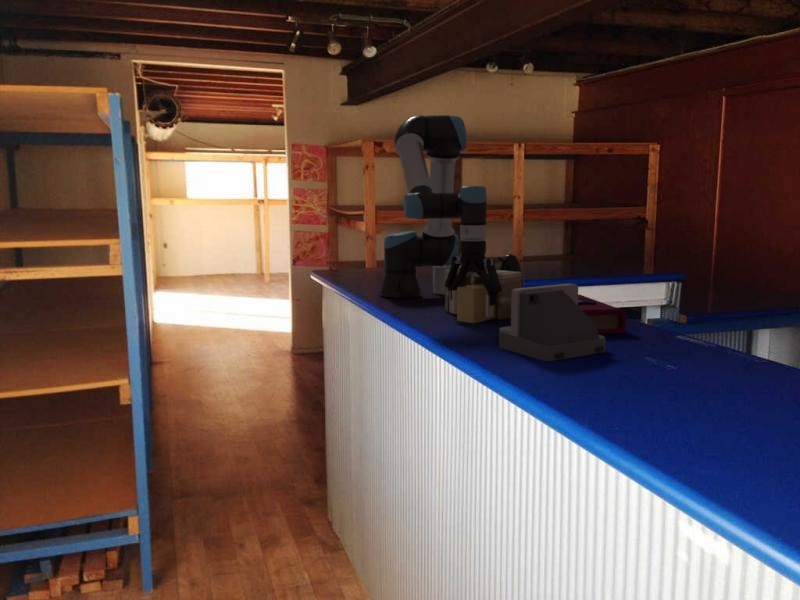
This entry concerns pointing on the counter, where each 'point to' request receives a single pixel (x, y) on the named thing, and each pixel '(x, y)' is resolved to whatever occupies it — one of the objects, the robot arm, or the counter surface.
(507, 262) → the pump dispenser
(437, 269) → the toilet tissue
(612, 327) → the book
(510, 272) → the shelf unit
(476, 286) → the box
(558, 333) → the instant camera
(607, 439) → the counter surface
